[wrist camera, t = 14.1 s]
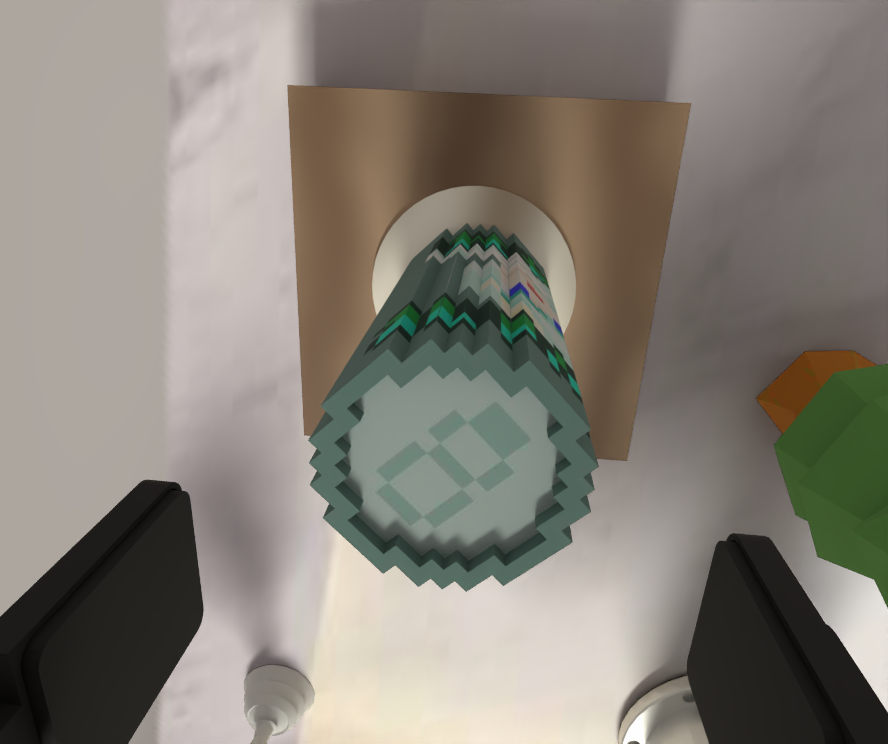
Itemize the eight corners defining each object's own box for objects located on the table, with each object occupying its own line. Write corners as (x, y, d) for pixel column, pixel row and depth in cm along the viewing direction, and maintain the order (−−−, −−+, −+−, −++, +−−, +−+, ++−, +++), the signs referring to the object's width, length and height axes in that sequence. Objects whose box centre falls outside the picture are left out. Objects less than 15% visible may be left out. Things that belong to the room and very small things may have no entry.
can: (572, 303, 27) (648, 494, 13) (468, 384, 29) (439, 625, 15) (482, 195, 26) (463, 285, 12) (379, 288, 28) (258, 458, 14)
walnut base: (665, 105, 28) (692, 103, 24) (613, 423, 34) (627, 463, 30) (314, 89, 29) (285, 85, 25) (324, 401, 35) (302, 437, 31)
